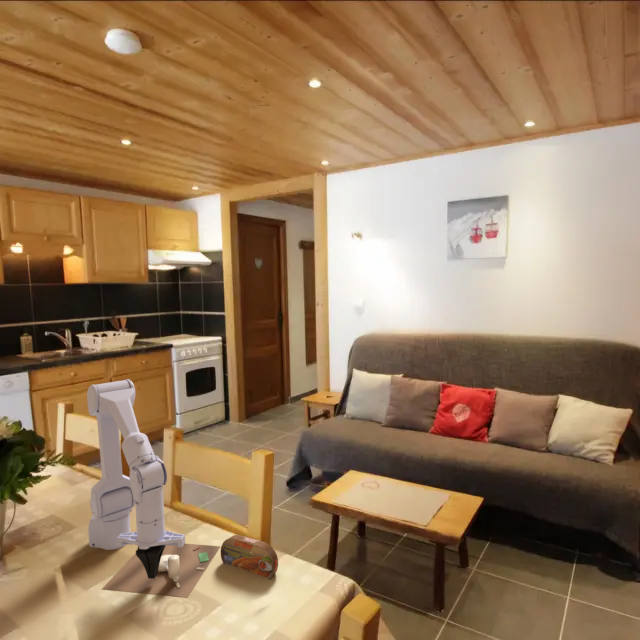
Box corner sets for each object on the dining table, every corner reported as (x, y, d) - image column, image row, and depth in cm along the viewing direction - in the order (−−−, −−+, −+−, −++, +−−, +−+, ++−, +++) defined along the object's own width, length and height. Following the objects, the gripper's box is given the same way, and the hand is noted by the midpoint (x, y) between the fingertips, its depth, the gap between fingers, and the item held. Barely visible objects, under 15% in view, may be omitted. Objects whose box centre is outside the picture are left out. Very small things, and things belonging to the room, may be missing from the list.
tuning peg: (151, 563, 108) (150, 543, 108) (172, 556, 111) (171, 536, 111) (165, 587, 100) (164, 565, 99) (187, 578, 103) (186, 557, 102)
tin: (220, 569, 109) (218, 535, 108) (228, 562, 112) (227, 529, 111) (273, 588, 102) (272, 552, 101) (280, 579, 105) (279, 544, 104)
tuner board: (101, 595, 100) (101, 588, 100) (147, 546, 119) (147, 539, 119) (187, 604, 97) (187, 596, 97) (220, 552, 116) (220, 545, 115)
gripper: (108, 525, 97) (112, 586, 98) (175, 527, 96) (178, 588, 97) (125, 509, 104) (128, 566, 105) (187, 510, 103) (189, 567, 104)
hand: (153, 575), depth 101 cm, fingers closed
